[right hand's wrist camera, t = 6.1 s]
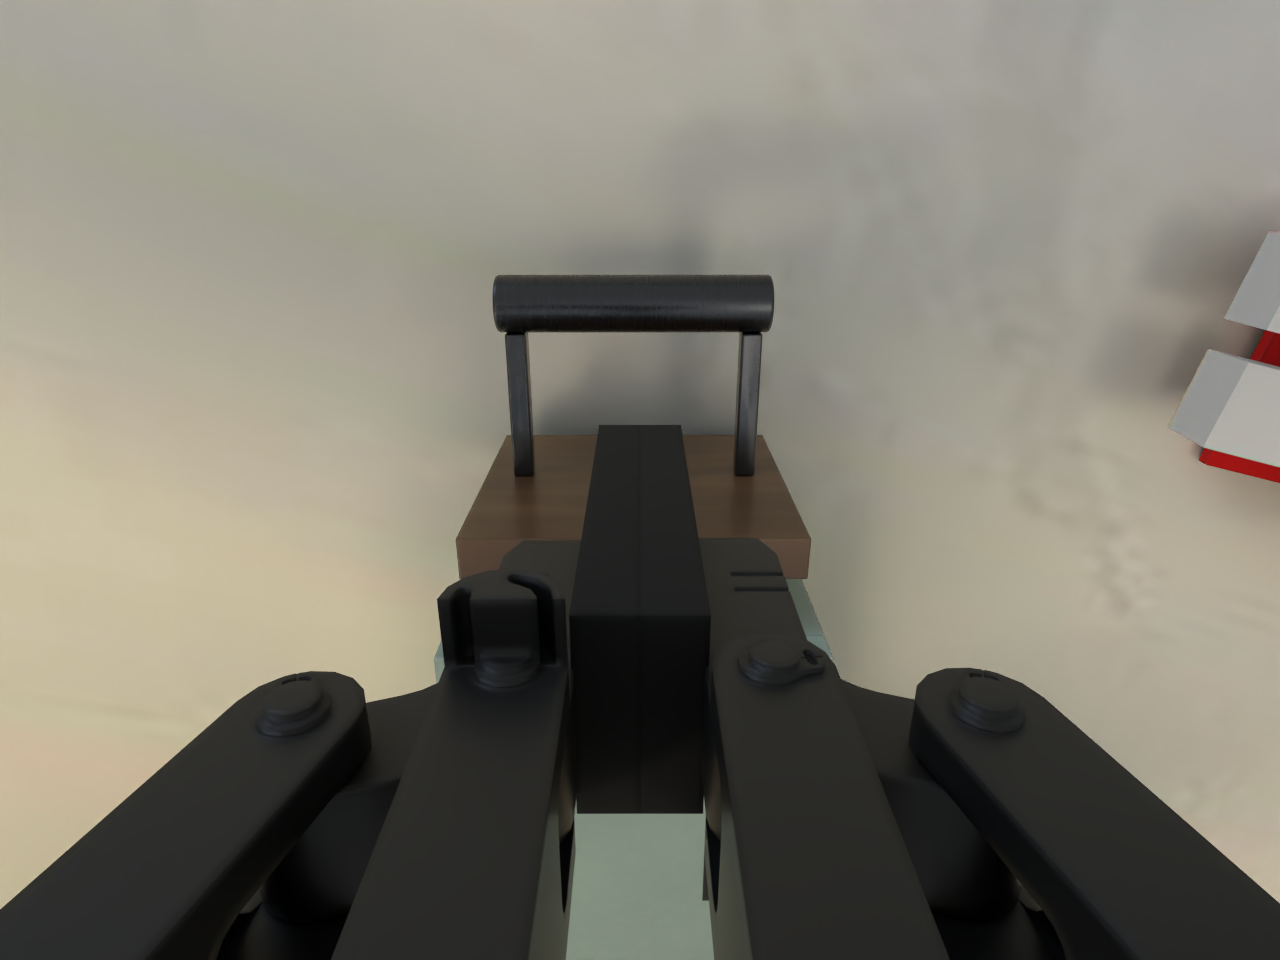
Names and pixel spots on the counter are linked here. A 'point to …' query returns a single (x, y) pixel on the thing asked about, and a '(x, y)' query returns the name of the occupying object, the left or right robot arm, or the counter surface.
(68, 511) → the counter surface
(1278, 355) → the toy
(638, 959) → the sage green rectangular box
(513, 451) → the drawer
